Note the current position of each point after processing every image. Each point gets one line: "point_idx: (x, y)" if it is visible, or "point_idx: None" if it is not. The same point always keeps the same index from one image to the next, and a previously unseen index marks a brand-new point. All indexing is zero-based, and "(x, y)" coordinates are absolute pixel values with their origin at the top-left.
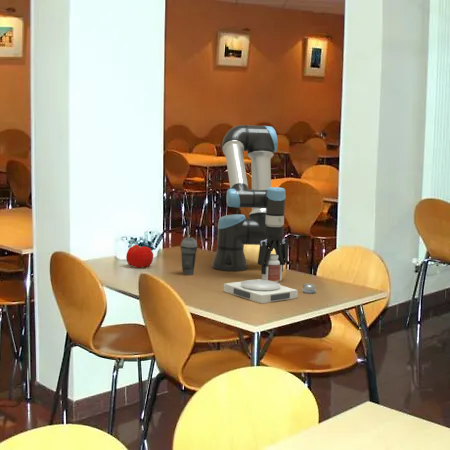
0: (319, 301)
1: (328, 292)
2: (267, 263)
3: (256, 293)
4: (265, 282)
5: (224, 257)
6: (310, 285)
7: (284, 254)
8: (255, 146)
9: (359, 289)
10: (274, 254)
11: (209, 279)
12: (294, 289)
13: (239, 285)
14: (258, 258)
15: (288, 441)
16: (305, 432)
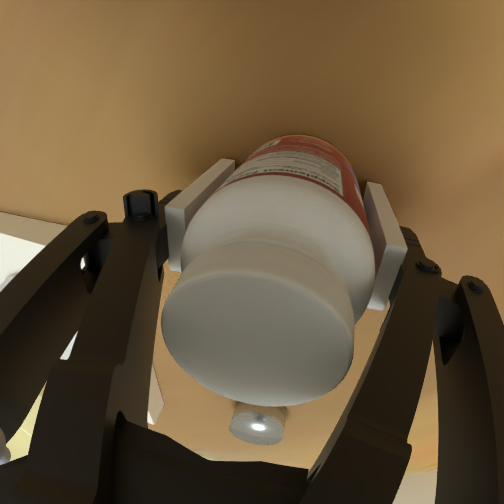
0: (199, 439)
1: (320, 436)
2: (161, 288)
3: None
4: (70, 350)
5: None
6: (252, 436)
7: (443, 401)
8: None
9: (432, 450)
10: (316, 351)
11: None
12: (149, 418)
13: (3, 276)
14: (48, 248)
15: (20, 427)
16: (27, 432)
